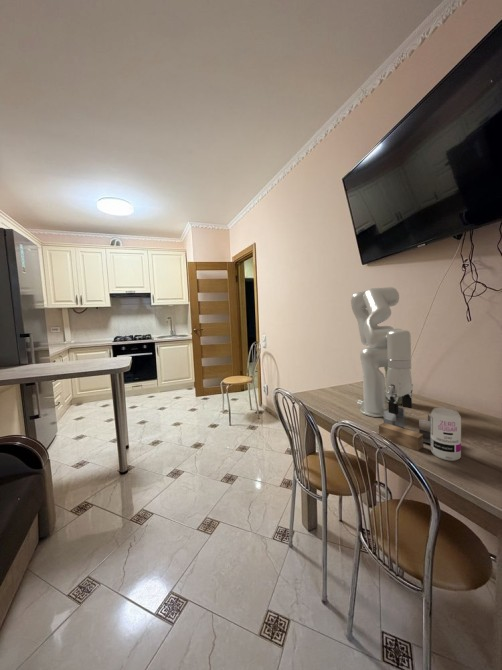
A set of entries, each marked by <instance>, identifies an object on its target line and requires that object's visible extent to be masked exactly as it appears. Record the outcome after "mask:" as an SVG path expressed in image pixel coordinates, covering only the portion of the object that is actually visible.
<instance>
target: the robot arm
mask: <svg viewBox="0 0 502 670" xmlns="http://www.w3.org/2000/svg"><path fill="white" fill-rule="evenodd" d="M350 298H351V299H350V306H351V310H352V313H353V315H354V317H355V318H356V320H357V325H358V331H359V336H360V337H359V338H360V342H361V344H362V345H364V346H368V347H366V348H363V349H362V350H361V351H360V353H359V354H360V355H359V356H360V361H361V366H362V367H361V369H362V391H363V394H362V395H363V400H361V399H358V400H357V403H356V405H358V406H360V409H359V411H360V413H361V414H362V415H365V416H368V417H373V418H382V417H383V418H384V410H385V409H387V408H388V409H389V413H392V414H396V415H397V414H398V407H399V405H398V403H397V401H398V398H399V397H402V406H401V407H402V408H405V409H412V407H413V406H412V402H413V401H412V400H413V399H412V398H413V394H412V393H413V388H414V384H413V383H412V382H413V381H412V373H411V371H412V348H411V346H412V339H411V333H410V330H408V329H407V330H406V329H402V328H394V327H392V326H389V325H379V324H381V323H384V322H386V321H387V320H389V318H390V317H391V315H392V309H391V307H394V306H396V305H397V304H398V303H399V302H400V293H399V291H398V290H397V288H395V287H392V286H388V287H387V286H386V287H375V288H370V289H367V290H366V291H365V290H364V291H358V292H355V293H354V294H352V296H351V297H350ZM384 367H388V370H387V377H386V382H385V375H384V374H385V373H383V372H382V371H381V370H380V369H379V368H384ZM385 387H386V396H387V397H386V398H387V401H388V403H387V404H388V406H387V408H386V402H385ZM396 394H397V395H396ZM393 397H395V399H394V398H393Z"/></svg>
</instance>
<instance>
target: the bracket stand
mask: <svg viewBox="0 0 502 670" xmlns="http://www.w3.org/2000/svg"><path fill="white" fill-rule="evenodd" d="M405 412H406V407H403V406H398V414H397V415H396V414H392V413H389V409H388V407H387V408H386V409H385V410H384V417H383V423H387V424H391V425H394V426H397V427H401V428H404V429H407V430H410V431H414V432H417V433H420V434H423V443H427V444H430V445H431V413H429V414H427V420H425V419H418V427H419V428H418V429H419V431H416V430H413V429H410V428H407V427H406V425H405V424H406V413H405Z"/></svg>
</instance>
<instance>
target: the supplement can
mask: <svg viewBox="0 0 502 670" xmlns="http://www.w3.org/2000/svg"><path fill="white" fill-rule="evenodd" d="M430 415H431V444H430V451H431V453H432V454H433V455H434V456H435V457H436V458H439V459H442V460H445V461H452V462H455V461H458V460H459V459H460V458H462V416H461V415H460V413H459V412H458V411H457V410H455V409H452V408H447V407H435V408H433V409H432V410H431V412H430Z"/></svg>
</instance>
